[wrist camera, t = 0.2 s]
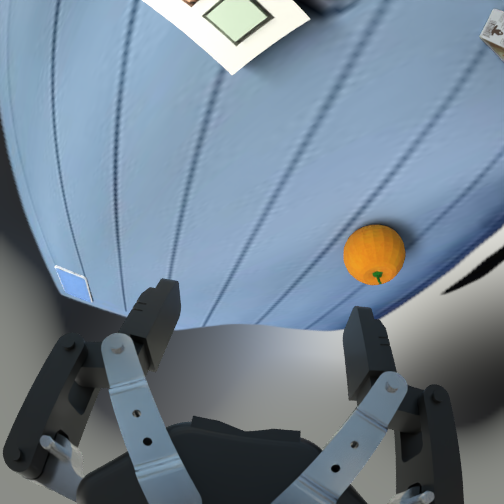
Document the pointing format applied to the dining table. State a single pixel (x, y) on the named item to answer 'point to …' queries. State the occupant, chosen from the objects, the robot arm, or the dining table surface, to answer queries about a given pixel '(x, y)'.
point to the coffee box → (494, 33)
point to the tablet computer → (74, 284)
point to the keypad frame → (217, 41)
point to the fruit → (374, 254)
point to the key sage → (237, 17)
